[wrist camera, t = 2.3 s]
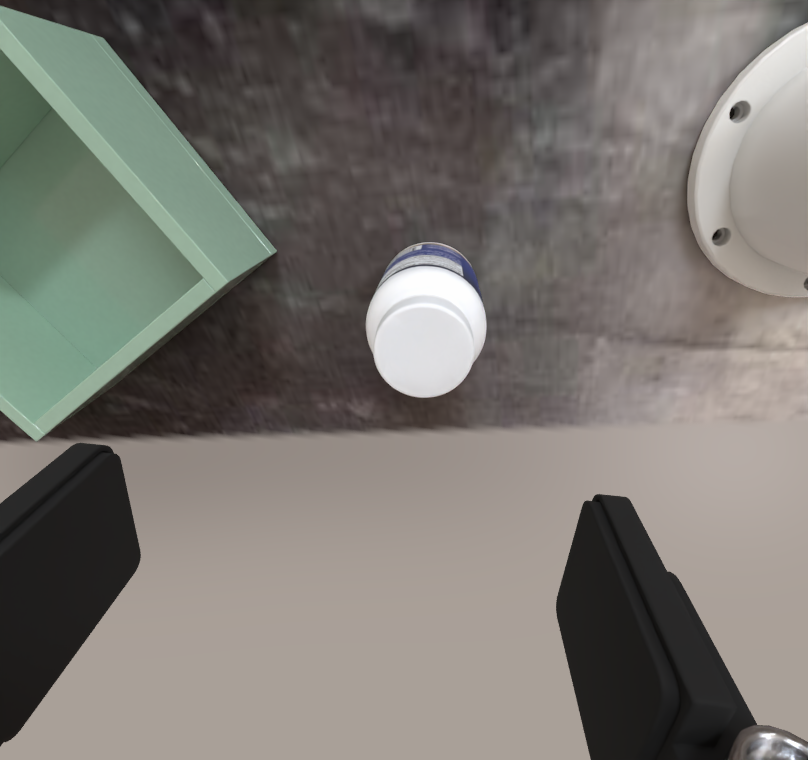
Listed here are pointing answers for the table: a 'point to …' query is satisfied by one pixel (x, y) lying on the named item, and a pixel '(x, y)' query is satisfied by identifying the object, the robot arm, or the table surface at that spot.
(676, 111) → the table surface
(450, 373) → the pill bottle
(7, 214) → the green open box
